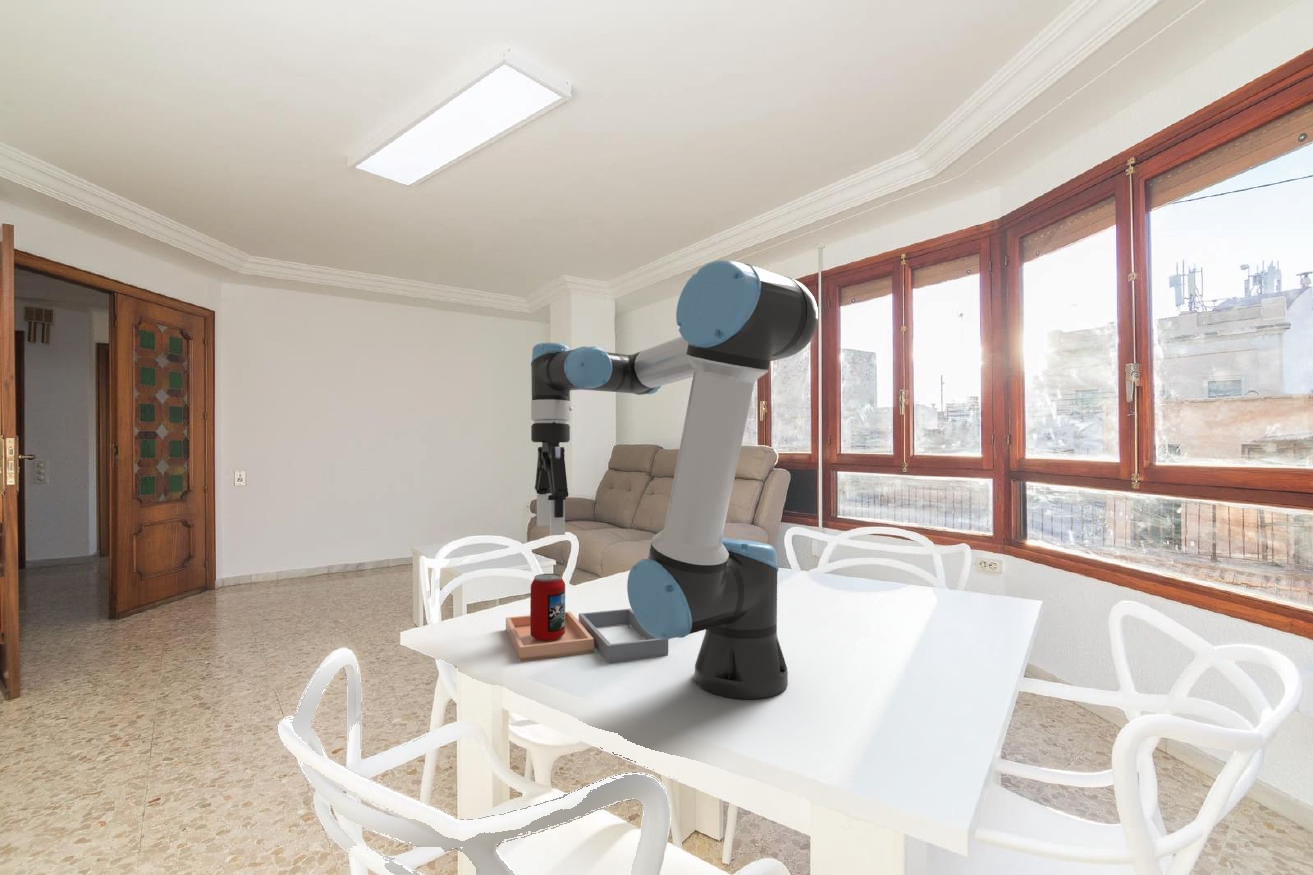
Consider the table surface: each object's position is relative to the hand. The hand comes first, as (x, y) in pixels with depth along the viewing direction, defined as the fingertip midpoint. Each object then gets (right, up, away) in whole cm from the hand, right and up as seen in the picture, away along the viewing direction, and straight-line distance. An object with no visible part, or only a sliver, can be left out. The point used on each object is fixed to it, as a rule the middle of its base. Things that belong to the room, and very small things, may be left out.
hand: (550, 530), depth 119 cm
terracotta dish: (0, -22, 0) cm, 22 cm away
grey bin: (+14, -22, 0) cm, 26 cm away
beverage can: (0, -21, 0) cm, 21 cm away
